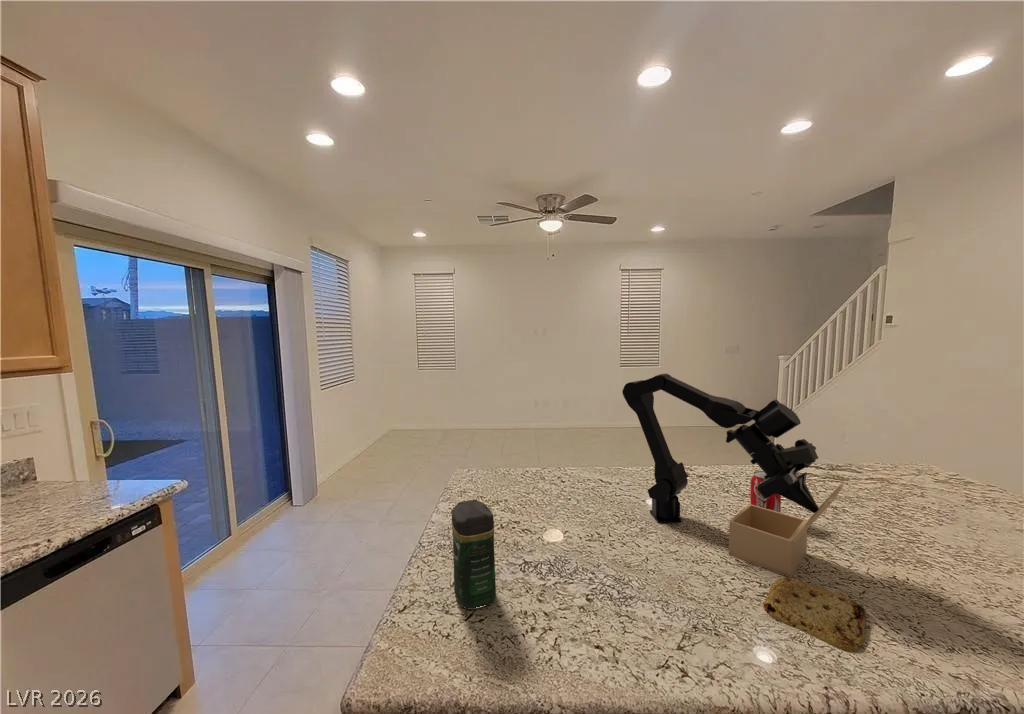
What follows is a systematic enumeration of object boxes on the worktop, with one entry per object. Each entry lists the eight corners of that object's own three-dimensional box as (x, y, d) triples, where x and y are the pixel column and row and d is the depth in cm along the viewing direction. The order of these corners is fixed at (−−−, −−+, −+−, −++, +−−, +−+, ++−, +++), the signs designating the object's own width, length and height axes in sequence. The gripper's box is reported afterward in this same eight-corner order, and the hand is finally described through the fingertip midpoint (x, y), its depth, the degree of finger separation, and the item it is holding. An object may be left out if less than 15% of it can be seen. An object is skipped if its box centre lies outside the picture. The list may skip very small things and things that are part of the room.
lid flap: (828, 500, 77) (832, 503, 76) (841, 482, 85) (844, 485, 84) (791, 540, 82) (795, 543, 81) (807, 520, 90) (810, 522, 90)
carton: (729, 554, 91) (729, 521, 91) (748, 534, 100) (749, 503, 99) (790, 577, 82) (791, 541, 82) (806, 553, 91) (807, 520, 90)
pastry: (741, 585, 81) (741, 571, 81) (827, 584, 80) (827, 570, 80) (798, 654, 64) (799, 636, 64) (909, 654, 63) (910, 636, 63)
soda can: (785, 524, 104) (786, 480, 103) (756, 522, 106) (756, 478, 105) (773, 511, 111) (774, 470, 110) (745, 510, 112) (746, 469, 112)
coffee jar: (501, 604, 77) (498, 512, 75) (462, 616, 74) (458, 521, 73) (486, 576, 86) (483, 493, 84) (450, 585, 83) (447, 500, 82)
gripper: (778, 438, 80) (845, 509, 72) (802, 421, 92) (861, 481, 85) (734, 465, 86) (791, 533, 79) (762, 446, 99) (814, 504, 91)
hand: (816, 511), depth 83 cm, fingers closed, pressing on lid flap
